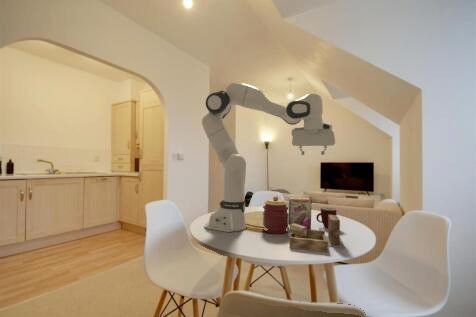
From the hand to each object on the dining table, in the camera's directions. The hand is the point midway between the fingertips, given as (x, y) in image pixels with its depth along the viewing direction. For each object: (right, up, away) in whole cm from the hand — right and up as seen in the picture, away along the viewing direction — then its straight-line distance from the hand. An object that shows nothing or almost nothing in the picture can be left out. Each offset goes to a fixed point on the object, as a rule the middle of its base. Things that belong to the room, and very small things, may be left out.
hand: (312, 154), depth 112 cm
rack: (-7, -39, -14) cm, 42 cm away
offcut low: (-11, -39, -13) cm, 42 cm away
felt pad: (+6, -39, -12) cm, 41 cm away
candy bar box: (-5, -39, +6) cm, 40 cm away
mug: (+11, -40, +12) cm, 43 cm away
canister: (-18, -39, +4) cm, 43 cm away
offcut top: (-11, -35, -13) cm, 39 cm away
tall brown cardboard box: (+5, -39, -12) cm, 41 cm away
